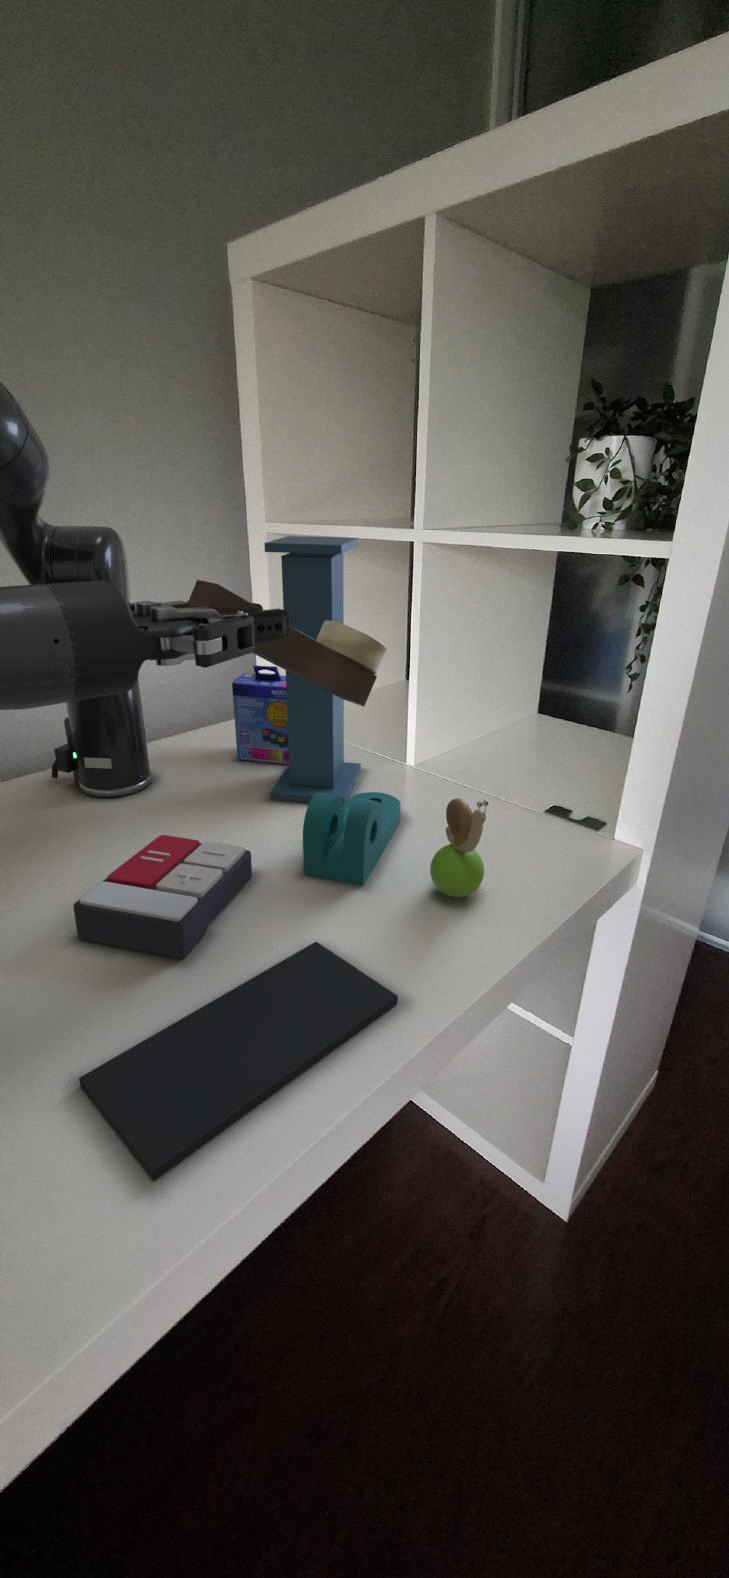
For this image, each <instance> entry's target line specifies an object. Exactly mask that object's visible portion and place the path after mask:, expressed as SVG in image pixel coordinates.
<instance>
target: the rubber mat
mask: <svg viewBox="0 0 729 1578" xmlns="http://www.w3.org/2000/svg"><path fill="white" fill-rule="evenodd" d="M398 996H399V995H397V994H396V993H394V992H393V991H391V990H390V989H388V988H387V987H385V986H384V985H382V984H380V982H378V981H376V980H375V979H373V978H371V977H370V976H368V975H367V974H366V973H364V972H362V971H361V970H359V969H358V968H357V967H355V966H354V965H352V964H351V963H349V962H348V961H346V960H344V959H343V958H341V956H339V955H337V954H336V953H335V952H332V951H331V950H330V949H328V948H326V947H325V946H323V945H322V944H321V943H319V942H317V941H314V942H312V943H311V944H309V945H307V946H305V947H304V948H302V949H301V950H299V951H297V952H295V953H293V954H291V955H290V956H288V957H287V958H285V959H283V960H281V961H279V962H278V963H276V964H274V965H272V966H271V967H269V968H267V969H266V970H264V971H262V972H261V973H258V974H257V975H255V976H254V977H251V978H250V979H248V980H247V981H245V982H243V983H241V984H240V985H237V986H236V987H234V988H233V989H231V990H229V991H227V992H225V993H224V994H222V995H221V996H219V997H217V998H215V999H213V1000H211V1001H210V1002H208V1003H207V1004H205V1005H203V1006H201V1007H200V1008H198V1009H196V1010H194V1011H193V1012H191V1013H189V1014H187V1015H186V1016H184V1017H182V1018H181V1019H179V1020H177V1021H175V1022H174V1023H172V1024H170V1025H168V1026H167V1027H165V1028H164V1029H161V1030H160V1031H158V1032H156V1033H155V1034H153V1035H151V1036H149V1037H148V1038H146V1039H144V1040H141V1042H139V1043H137V1044H135V1045H134V1046H132V1047H130V1048H129V1049H128V1048H127V1050H125V1051H123V1052H122V1053H120V1054H118V1055H116V1056H115V1057H112V1058H111V1059H109V1060H107V1061H106V1062H105V1063H102V1064H101V1065H98V1066H97V1067H96V1068H94V1069H92V1070H91V1071H89V1072H86V1073H85V1074H83V1075H81V1076H79V1077H78V1082H79V1086H80V1088H81V1089H82V1091H84V1093H85V1094H86V1096H87V1097H88V1098H89V1099H90V1100H91V1102H92V1103H93V1105H94V1106H95V1107H96V1108H97V1109H98V1111H99V1112H100V1114H101V1115H102V1116H103V1117H104V1118H105V1120H106V1121H107V1123H108V1124H109V1125H110V1126H111V1128H112V1129H113V1130H114V1131H115V1133H116V1134H117V1135H118V1136H119V1138H120V1139H121V1140H122V1142H123V1143H124V1145H125V1146H126V1147H127V1149H128V1150H129V1151H130V1152H131V1153H132V1155H133V1156H134V1158H136V1160H137V1161H138V1162H139V1164H140V1165H141V1166H142V1168H143V1169H144V1171H145V1172H146V1173H147V1174H148V1175H149V1177H150V1179H152V1181H155V1180H158V1178H160V1177H161V1176H162V1175H164V1174H165V1173H167V1172H168V1171H169V1170H171V1169H172V1168H173V1167H174V1166H176V1165H178V1164H179V1163H180V1162H181V1161H183V1160H184V1159H185V1158H187V1157H188V1156H190V1155H191V1154H193V1153H194V1152H195V1151H197V1150H198V1149H199V1148H201V1147H202V1146H203V1145H205V1144H206V1143H209V1141H210V1140H212V1139H213V1138H215V1137H216V1136H217V1135H219V1134H220V1133H222V1132H223V1131H224V1130H226V1129H227V1128H229V1126H231V1125H233V1123H235V1122H236V1121H238V1120H239V1119H241V1118H242V1117H244V1116H245V1115H246V1114H247V1113H249V1112H251V1110H253V1109H255V1108H256V1107H257V1106H258V1105H260V1104H261V1103H262V1102H264V1101H265V1100H267V1099H268V1098H270V1097H271V1096H272V1095H274V1094H276V1092H278V1091H279V1090H281V1089H282V1088H283V1087H285V1086H286V1085H288V1084H289V1083H290V1082H291V1081H293V1080H294V1079H296V1078H297V1077H298V1076H300V1075H302V1073H304V1072H305V1071H307V1070H308V1069H309V1068H311V1067H312V1066H313V1065H315V1064H316V1063H318V1062H319V1061H321V1060H322V1059H323V1058H324V1057H326V1056H327V1055H329V1054H330V1053H331V1052H332V1051H334V1050H335V1049H337V1048H338V1047H340V1046H341V1045H342V1044H343V1043H345V1042H347V1041H348V1040H349V1039H350V1038H352V1037H353V1036H355V1035H356V1034H357V1033H358V1032H360V1031H362V1030H363V1029H364V1028H366V1027H367V1026H368V1025H370V1024H371V1023H373V1022H374V1021H375V1020H377V1019H378V1018H379V1017H381V1016H382V1015H384V1014H385V1013H386V1012H388V1011H389V1010H390V1009H392V1008H393V1007H394V1006H396V1005H398V998H399V997H398Z"/></svg>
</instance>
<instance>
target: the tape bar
mask: <svg viewBox="0 0 729 1578" xmlns="http://www.w3.org/2000/svg"><path fill="white" fill-rule="evenodd" d="M187 601H188V602H189V604H188V606H187V608H194V607H210V608H212V609H215V610H216V611H217V612H218V613H227V612H236V611H238V610H241V611H243V612H250V611H260V610H262V609H260V608H259V607H257V606H255V605H253V604H252V603H253V602H251V601H248V600H246V599H244V597H241V596H240V595H238V594H236V593H234V592H233V591H232V590H230V589H227V588H226V587H224V586H223V585H221V584H220V583H216V582H211V581H206V580H201V579H196V581H195V584H194V586H193V589H192V591H191V593H190V596H189V598H188V600H187ZM198 618H200V620H201V624H205V620H204V618H203V617H198ZM386 652H387V647H386V645H384V644H383V643H382V642H381V641H379V640H378V639H376V638H374V637H372V636H371V635H369V634H367V633H366V632H363V631H361V630H358V629H356V628H354V627H352V626H349V625H346V624H341V623H338V622H334V621H328V620H326V621H324V623H323V625H322V627H321V630H320V632H319V635H318V637H317V639H316V640H314V639H312V638H310V637H309V636H307V635H305V634H304V633H302V632H300V631H298V630H297V629H295V628H293V627H291V626H290V625H289V635H288V636H287V638H285V639H278V640H271V641H263V642H256V643H255V652H253V653H252V654H253V655H255V656H257V657H259V658H261V659H263V660H265V661H267V662H269V663H271V664H273V665H274V666H276V667H278V668H281V669H283V670H284V671H286V670H287V671H289V672H290V673H292V674H294V675H296V676H298V677H300V678H302V679H304V680H306V681H308V682H310V683H312V684H314V685H316V686H318V687H320V688H322V689H324V690H326V691H328V692H330V693H332V694H334V695H336V696H337V697H339V698H341V699H343V700H344V701H346V702H350V703H352V704H355V705H358V706H361V707H365V706H366V704H367V702H368V699H369V697H370V695H371V692H372V689H373V688H374V685H375V682H376V681H377V678H378V675H376V674H377V673H378V670H379V668H380V665H381V663H382V661H383V659H384V657H385V655H386Z"/></svg>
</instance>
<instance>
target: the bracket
mask: <svg viewBox="0 0 729 1578" xmlns="http://www.w3.org/2000/svg"><path fill="white" fill-rule="evenodd" d="M401 806H402V804H401V801H400V799H398V798H397V797H395V796H394V795H391V794H389V793H385V792H378V791H377V792H376V791H368V792H367V791H366V792H361V793H357V794H354V795H352V796H349V798H348V800H347V801H346V802H345V804H344V805H343V801H342V799H341V797H340V796H337V795H330V794H323V793H316V794H315V795H314V796H313V797H312V799H311V800H310V802H309V803H308V805H307V807H306V812H305V815H304V819H303V824H302V825H303V826H302V862H303V863H302V864H303V875H304V876H311V877H317V878H322V879H327V880H332V881H333V880H334V881H339V882H344V883H350V884H355V885H361V886H364V885H365V884H366V882H367V880H368V878H369V877H370V875H371V873H372V872H373V870H374V868H375V867H376V865H377V864H378V861H379V860H380V858H381V857H382V854H383V853H384V851H385V849H386V847H387V846H388V845H389V842H390V841H391V840H392V837H393V836H394V834H395V832H396V830H397V829H398V827H399V825H400V823H401Z"/></svg>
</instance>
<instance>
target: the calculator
mask: <svg viewBox="0 0 729 1578" xmlns="http://www.w3.org/2000/svg"><path fill="white" fill-rule="evenodd" d="M252 864H253V863H252V852H251V851H250V850H247V849H246V848H245V847H244V846H240V845H239V846H238V845H231V844H226V843H219V842H213V841H204V842H200V840H199V839H193V838H186V837H180V836H173V835H166V834H161V835H159V836H157V837H156V838H155V839H153V840H152V841H150V842H149V843H148V844H147V845H145V846H144V847H143V848H142V849H140V850H139V851H138V852H136V853H135V854H134V855H132V856H131V857H130V858H129V859H127V860H126V861H125V862H124V863H122V864H121V865H120V866H118V867H117V868H116V869H114V870H113V871H112V872H111V873H109V874H108V875H107V876H106V878H105V879H104V880H103V881H101V882H100V883H99V884H97V885H96V886H94V888H92V889H90V890H89V891H88V892H87V893H86V894H84V895H83V896H82V897H80V898H79V899H78V900H77V901H75V902H74V903H73V907H72V908H73V914H74V920H75V928H76V933H77V938H78V939H80V940H84V941H89V942H95V943H99V944H105V945H110V946H114V947H120V948H125V949H130V950H136V951H139V952H145V953H150V954H156V955H161V956H164V957H165V956H166V957H171V958H175V959H184V958H186V957H187V955H189V953H190V952H192V951H193V949H194V948H195V946H196V945H198V944H199V942H200V941H201V940H202V939H203V938H204V936H205V934H206V931H207V929H208V926H209V925H210V924H211V922H212V921H213V920H214V919H215V918H216V917H217V916H218V915H219V914H220V912H221V911H222V910H223V909H224V908H225V907H226V906H227V904H229V902H230V901H231V900H232V899H233V898H234V897H235V896H236V894H237V893H238V892H239V891H241V889H242V888H243V887H244V886H245V884H246V883H247V882H248V881H249V880H250V879H251V878H252V877H253V868H252V867H253V866H252Z"/></svg>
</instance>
